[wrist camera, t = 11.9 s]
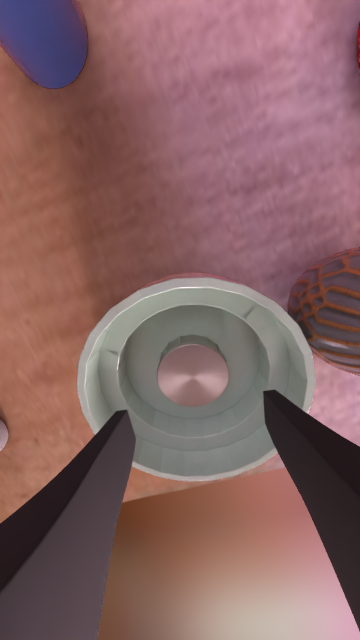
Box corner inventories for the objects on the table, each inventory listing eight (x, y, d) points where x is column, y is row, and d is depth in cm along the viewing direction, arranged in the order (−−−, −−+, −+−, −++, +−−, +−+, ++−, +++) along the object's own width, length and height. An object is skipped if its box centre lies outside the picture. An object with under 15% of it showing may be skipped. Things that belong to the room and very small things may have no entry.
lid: (227, 387, 16) (232, 402, 14) (165, 395, 17) (164, 411, 15) (220, 329, 15) (225, 338, 13) (153, 339, 15) (149, 349, 13)
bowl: (97, 413, 18) (70, 462, 14) (116, 252, 14) (86, 249, 10) (247, 441, 19) (266, 495, 14) (307, 295, 15) (359, 311, 10)
